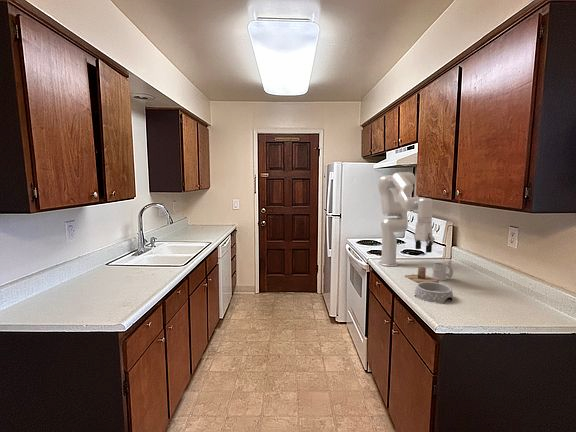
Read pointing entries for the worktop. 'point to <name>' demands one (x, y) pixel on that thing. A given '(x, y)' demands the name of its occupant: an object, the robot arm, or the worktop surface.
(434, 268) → the mug
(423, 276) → the walnut lid
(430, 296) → the dog bowl
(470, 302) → the worktop surface
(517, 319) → the worktop surface
